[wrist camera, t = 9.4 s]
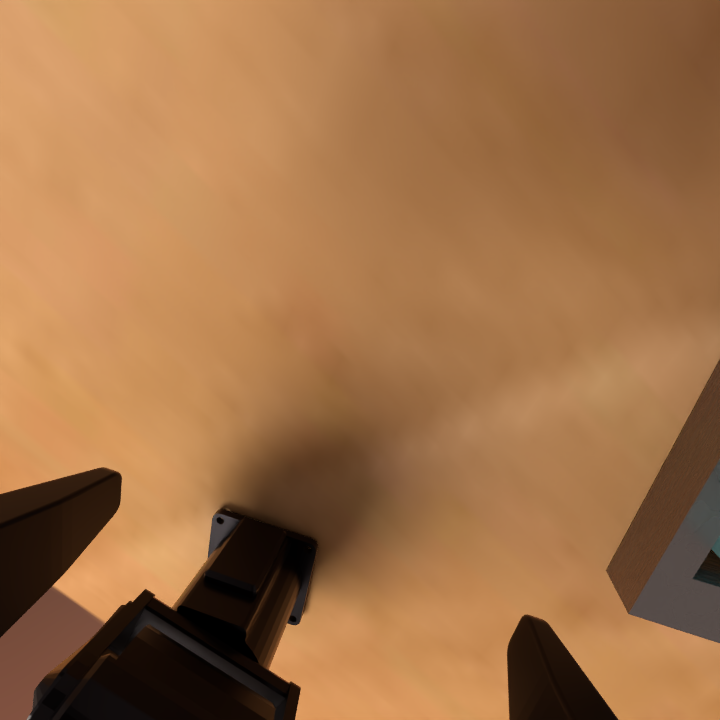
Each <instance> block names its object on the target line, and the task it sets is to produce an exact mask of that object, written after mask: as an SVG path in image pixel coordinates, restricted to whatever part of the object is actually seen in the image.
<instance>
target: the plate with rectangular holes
mask: <svg viewBox="0 0 720 720" xmlns="http://www.w3.org/2000/svg"><path fill="white" fill-rule="evenodd" d="M719 536H720V361H719V363H718V364H717V366H716V368H715V370H714V372H713V374H712V376H711V377H710V379H709V381H708V383H707V385H706V387H705V389H704V390H703V392H702V394H701V396H700V398H699V400H698V402H697V403H696V405H695V407H694V409H693V411H692V413H691V414H690V416H689V418H688V420H687V422H686V424H685V426H684V427H683V429H682V431H681V433H680V435H679V437H678V439H677V440H676V442H675V444H674V446H673V448H672V450H671V452H670V453H669V455H668V457H667V459H666V461H665V463H664V465H663V466H662V468H661V470H660V472H659V474H658V476H657V478H656V479H655V481H654V483H653V485H652V487H651V489H650V491H649V492H648V494H647V496H646V498H645V500H644V502H643V504H642V505H641V507H640V509H639V511H638V513H637V515H636V517H635V518H634V520H633V522H632V524H631V526H630V528H629V530H628V531H627V533H626V535H625V537H624V539H623V541H622V543H621V544H620V546H619V548H618V550H617V552H616V554H615V556H614V557H613V559H612V561H611V563H610V565H609V567H608V569H607V570H606V571H607V573H608V575H609V577H610V579H611V581H612V583H613V585H614V587H615V589H616V591H617V593H618V595H619V596H620V598H621V600H622V602H623V604H624V606H625V608H626V610H627V612H628V614H631V615H634V616H637V617H640V618H643V619H646V620H649V621H652V622H655V623H659V624H662V625H665V626H668V627H671V628H674V629H677V630H680V631H683V632H686V633H690V634H693V635H696V636H699V637H702V638H705V639H708V640H711V641H714V642H718V643H720V558H719V557H718V556H717V555H716V554H713V553H710V550H711V549H712V547H713V546H714V544H715V542H716V541H717V539H718V538H719Z"/></svg>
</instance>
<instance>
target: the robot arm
mask: <svg viewBox="0 0 720 720" xmlns="http://www.w3.org/2000/svg"><path fill="white" fill-rule="evenodd" d="M121 483H122V476H121V474H120V473H119V472H117V471H114V470H111V469H108V468H104V467H103V468H97V469H94V470H90V471H86V472H82V473H78V474H75V475H71V476H67V477H63V478H60V479H56V480H52V481H48V482H44V483H41V484H37V485H33V486H29V487H26V488H22V489H18V490H14V491H10V492H7V493H3V494H0V637H1V636H2V635H3V634H4V633H5V632H6V631H7V630H8V629H9V628H10V627H11V626H12V625H13V624H14V623H15V622H16V621H17V620H18V619H19V618H20V617H21V616H22V615H23V614H24V613H25V612H26V611H27V610H28V609H30V608H31V606H33V605H34V604H35V603H36V601H37V600H39V598H40V597H42V596H43V595H44V593H46V592H47V591H48V589H50V588H51V587H52V586H53V585H54V583H55V582H56V581H57V580H58V579H59V578H60V577H61V576H62V575H63V574H64V573H65V572H66V571H67V570H68V568H69V567H70V566H71V565H72V564H73V563H74V562H75V560H76V559H77V558H78V557H79V556H80V555H81V553H82V552H83V551H84V550H85V549H86V547H87V546H88V545H89V544H90V543H91V542H92V540H93V539H94V538H95V537H96V536H97V534H98V533H99V532H100V531H101V530H102V529H103V527H104V526H105V525H106V524H107V523H108V521H109V520H110V519H111V518H112V517H113V516H114V514H115V513H116V511H117V510H118V508H119V505H120V500H121ZM220 517H221V518H223V519H221V518H220ZM307 546H308V547H310V548H311V549H309V548H308V547H307ZM317 550H318V544H317V542H316V541H315V540H314V539H312V538H309V537H306V536H303V535H300V534H297V533H294V532H291V531H288V530H285V529H282V528H279V527H275V526H272V525H269V524H266V523H263V522H260V521H257V520H254V519H251V518H248V517H245V516H242V515H239V514H236V513H233V512H230V511H227V510H223V509H221V510H218V511H217V512H216V513H215V515H214V516H213V518H212V527H211V535H210V543H209V551H208V559H207V561H206V562H205V563H204V565H203V566H202V567H201V569H200V570H199V572H198V573H197V574H196V576H195V577H194V578H193V580H192V581H191V582H190V584H189V585H188V587H187V588H186V589H185V591H184V592H183V593H182V595H181V596H180V597H179V599H178V600H177V602H176V603H175V604H174V606H173V607H172V608H171V607H169V606H167V605H166V604H164V603H163V602H161V601H160V600H158V599H156V598H155V594H153V593H151V592H150V591H148V590H147V589H145V590H144V591H143V592H142V593H141V594H140V595H139V596H138V597H137V598H136V599H135V600H134V601H133V602H132V601H129V602H128V603H127V604H126V605H121V606H120V607H119V608H118V610H117V611H116V612H115V613H114V614H113V615H112V616H111V617H110V619H109V620H108V621H107V622H106V623H105V624H104V625H103V627H102V628H101V629H100V630H99V631H98V632H97V633H96V634H95V635H94V636H93V637H92V638H91V639H90V640H89V641H88V642H87V643H85V644H84V645H83V646H81V647H80V648H79V649H78V650H77V651H75V652H74V653H73V654H72V655H70V656H69V657H68V658H67V659H66V660H64V661H63V662H62V663H61V664H59V665H58V666H57V667H56V668H55V669H53V670H52V671H51V672H50V673H49V674H47V675H46V676H45V677H44V679H43V680H42V681H41V682H40V684H39V685H38V686H37V687H36V689H35V691H34V699H33V709H32V712H31V714H30V715H29V717H28V719H27V720H295V716H296V711H297V705H298V700H299V695H300V690H301V688H300V687H299V686H297V685H296V684H294V683H293V682H290V683H288V682H287V681H285V680H284V679H282V678H281V677H279V676H277V675H276V674H274V673H273V672H271V671H270V670H269V667H270V665H271V662H272V660H273V657H274V655H275V652H276V650H277V647H278V645H279V642H280V640H281V637H282V635H283V632H284V630H285V627H286V625H287V623H288V624H291V625H297V624H299V623H300V621H301V618H302V615H303V610H304V606H305V602H306V597H307V593H308V589H309V585H310V580H311V576H312V572H313V567H314V563H315V559H316V554H317ZM507 665H508V693H509V720H618V718H617V717H616V716H615V714H614V713H613V712H612V710H611V709H610V708H609V706H608V705H607V703H606V702H605V701H604V699H603V698H602V697H601V695H600V694H599V692H598V691H597V690H596V688H595V687H594V686H593V684H592V683H591V681H590V680H589V679H588V677H587V676H586V675H585V673H584V672H583V671H582V669H581V668H580V666H579V665H578V664H577V662H576V661H575V660H574V658H573V657H572V655H571V654H570V653H569V651H568V650H567V649H566V647H565V646H564V644H563V643H562V642H561V640H560V639H559V638H558V636H557V635H556V634H555V632H554V631H553V629H552V628H551V627H550V625H549V624H548V623H547V622H546V621H544V620H542V619H539V618H536V617H534V616H531V615H524V616H522V618H521V619H520V621H519V623H518V625H517V627H516V629H515V631H514V633H513V635H512V637H511V639H510V642H509V645H508V650H507Z"/></svg>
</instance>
